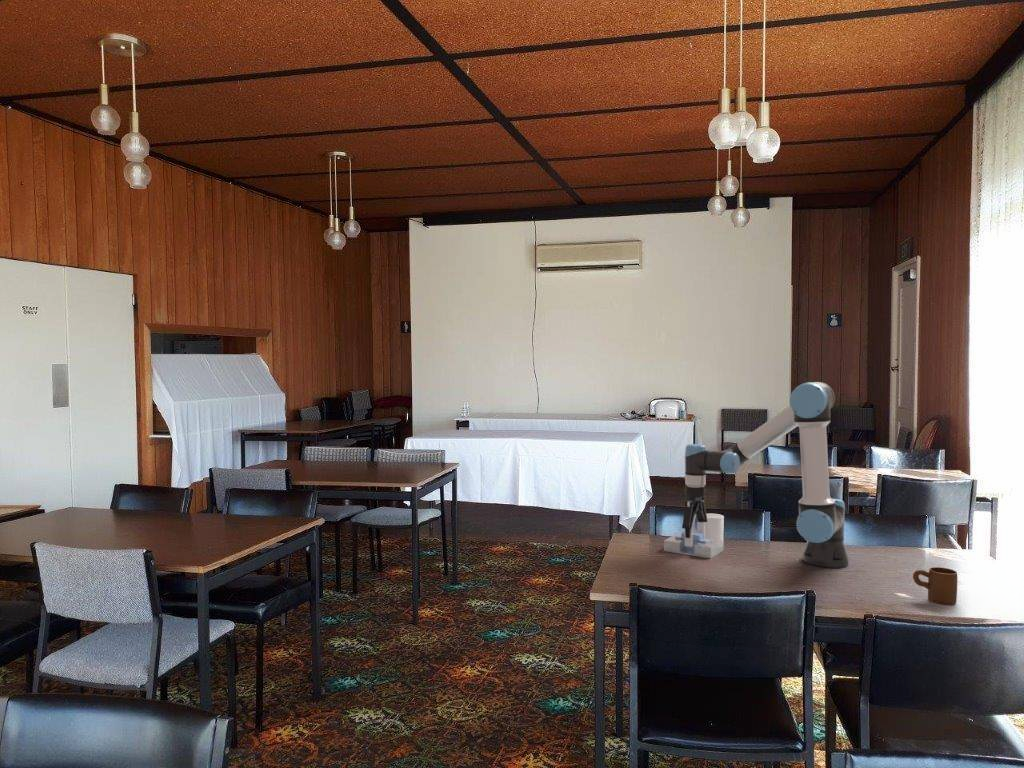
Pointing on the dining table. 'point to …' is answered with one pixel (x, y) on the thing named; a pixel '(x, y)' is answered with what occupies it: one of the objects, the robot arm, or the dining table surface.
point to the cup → (713, 526)
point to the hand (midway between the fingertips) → (694, 542)
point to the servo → (693, 540)
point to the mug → (939, 584)
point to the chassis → (700, 549)
